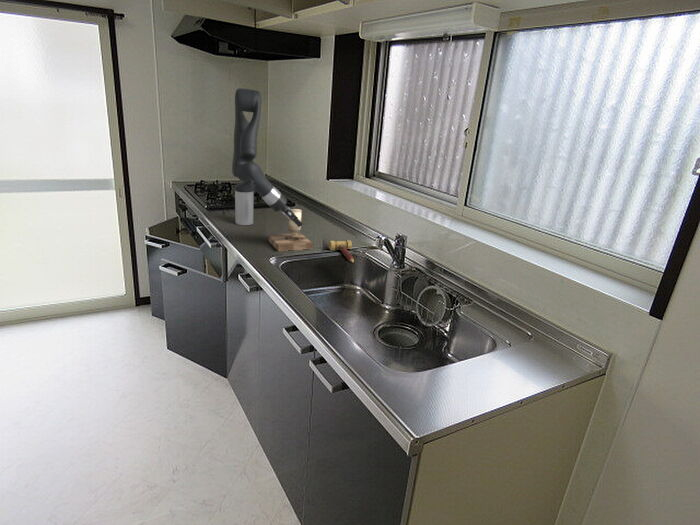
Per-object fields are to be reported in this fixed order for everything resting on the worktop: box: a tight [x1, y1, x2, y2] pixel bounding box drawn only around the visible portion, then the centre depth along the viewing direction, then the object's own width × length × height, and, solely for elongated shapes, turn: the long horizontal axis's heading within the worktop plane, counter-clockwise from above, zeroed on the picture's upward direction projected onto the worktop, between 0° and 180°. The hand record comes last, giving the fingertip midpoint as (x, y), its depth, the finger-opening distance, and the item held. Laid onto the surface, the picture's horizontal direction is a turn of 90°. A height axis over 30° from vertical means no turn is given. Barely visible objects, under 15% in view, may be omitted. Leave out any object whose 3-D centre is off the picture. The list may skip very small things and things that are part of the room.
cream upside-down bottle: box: [287, 208, 302, 237], centre depth 205 cm, size 6×6×12 cm
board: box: [267, 232, 313, 252], centre depth 207 cm, size 16×16×3 cm
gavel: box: [328, 239, 355, 263], centre depth 200 cm, size 21×5×10 cm
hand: (298, 223), depth 205 cm, fingers closed on cream upside-down bottle, 5 cm apart
